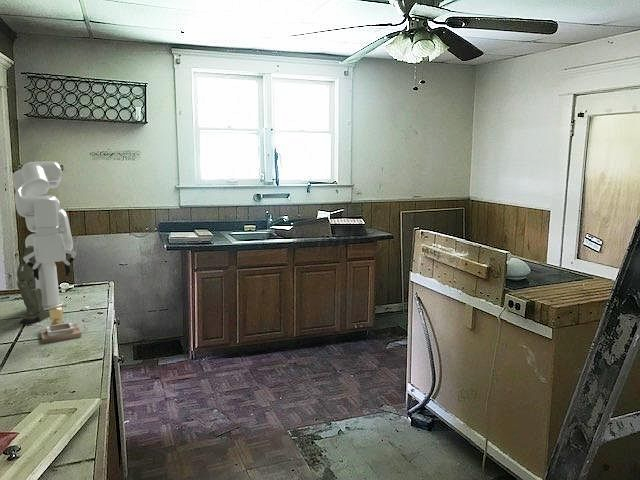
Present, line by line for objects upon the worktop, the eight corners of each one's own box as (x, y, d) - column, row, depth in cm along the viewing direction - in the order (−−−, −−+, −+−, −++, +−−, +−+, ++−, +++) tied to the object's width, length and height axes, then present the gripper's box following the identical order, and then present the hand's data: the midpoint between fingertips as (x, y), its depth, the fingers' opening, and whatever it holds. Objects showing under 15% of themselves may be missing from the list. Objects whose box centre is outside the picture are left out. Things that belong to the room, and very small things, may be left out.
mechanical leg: (25, 325, 190) (31, 245, 192) (8, 324, 192) (15, 244, 194) (51, 322, 204) (57, 247, 206) (36, 321, 205) (41, 246, 207)
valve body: (50, 325, 193) (48, 307, 192) (63, 323, 195) (61, 305, 194) (51, 329, 189) (49, 310, 188) (64, 326, 191) (62, 308, 190)
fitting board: (40, 334, 184) (39, 326, 183) (77, 327, 190) (76, 320, 190) (43, 343, 175) (42, 335, 174) (81, 336, 181) (80, 328, 181)
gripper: (72, 228, 194) (76, 272, 196) (20, 232, 185) (25, 278, 187) (75, 230, 187) (79, 276, 190) (20, 234, 178) (26, 282, 181)
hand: (52, 277), depth 189 cm, fingers open, 9 cm apart
